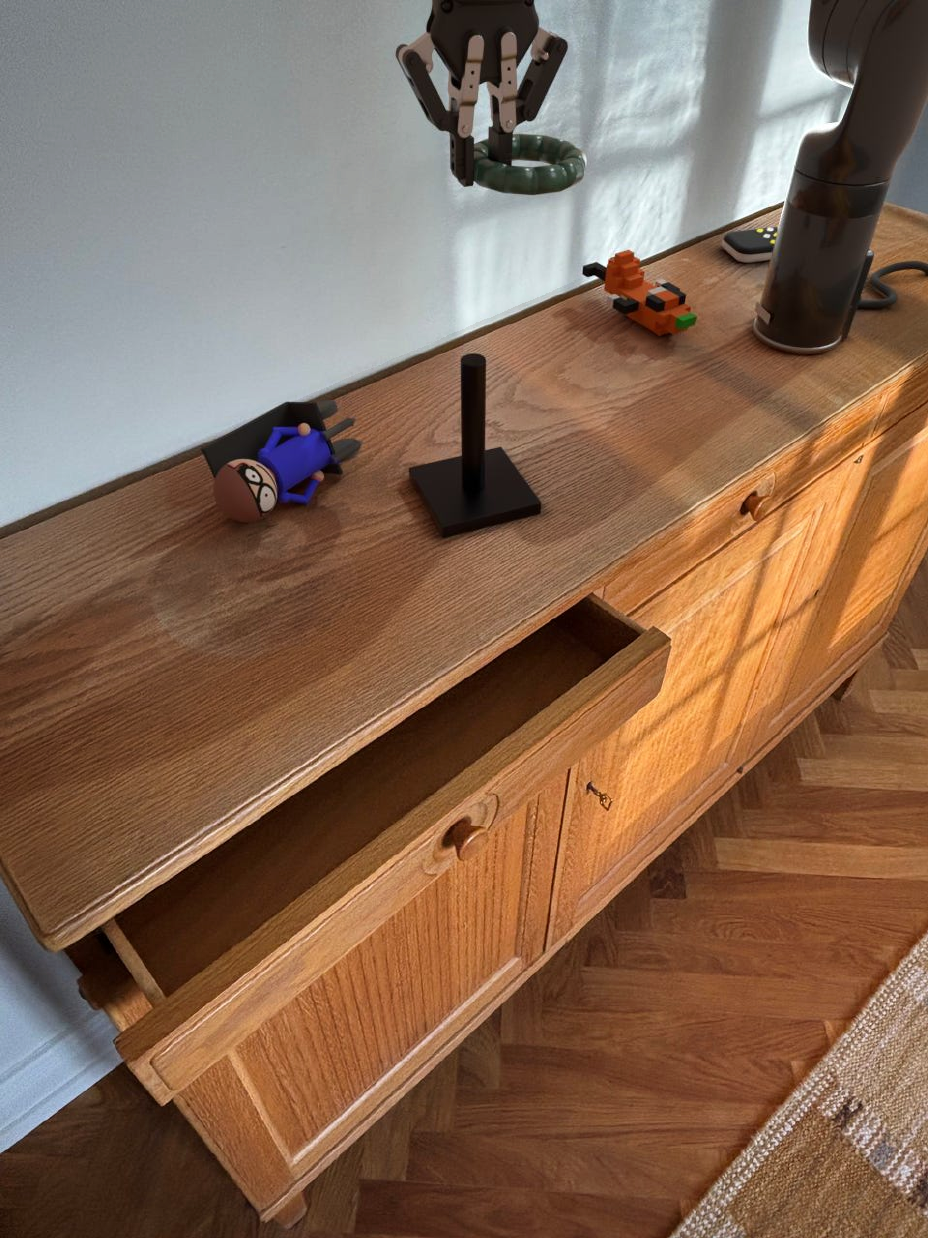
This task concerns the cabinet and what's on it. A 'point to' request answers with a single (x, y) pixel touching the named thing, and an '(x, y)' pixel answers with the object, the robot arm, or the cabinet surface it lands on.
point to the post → (473, 470)
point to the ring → (531, 180)
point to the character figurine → (276, 458)
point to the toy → (642, 295)
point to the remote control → (751, 244)
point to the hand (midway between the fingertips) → (481, 180)
